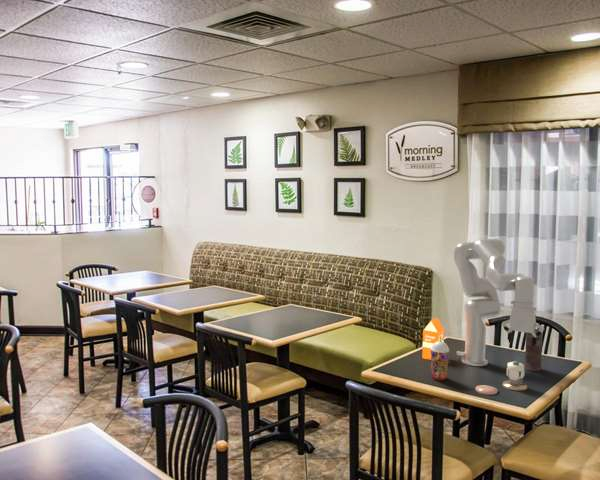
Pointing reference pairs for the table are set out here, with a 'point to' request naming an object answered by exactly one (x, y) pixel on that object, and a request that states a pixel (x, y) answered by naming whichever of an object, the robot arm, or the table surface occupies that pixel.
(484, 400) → the table surface
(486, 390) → the coaster
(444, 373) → the smoothie
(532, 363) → the candle
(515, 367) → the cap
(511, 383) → the beige piece
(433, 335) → the orange juice
